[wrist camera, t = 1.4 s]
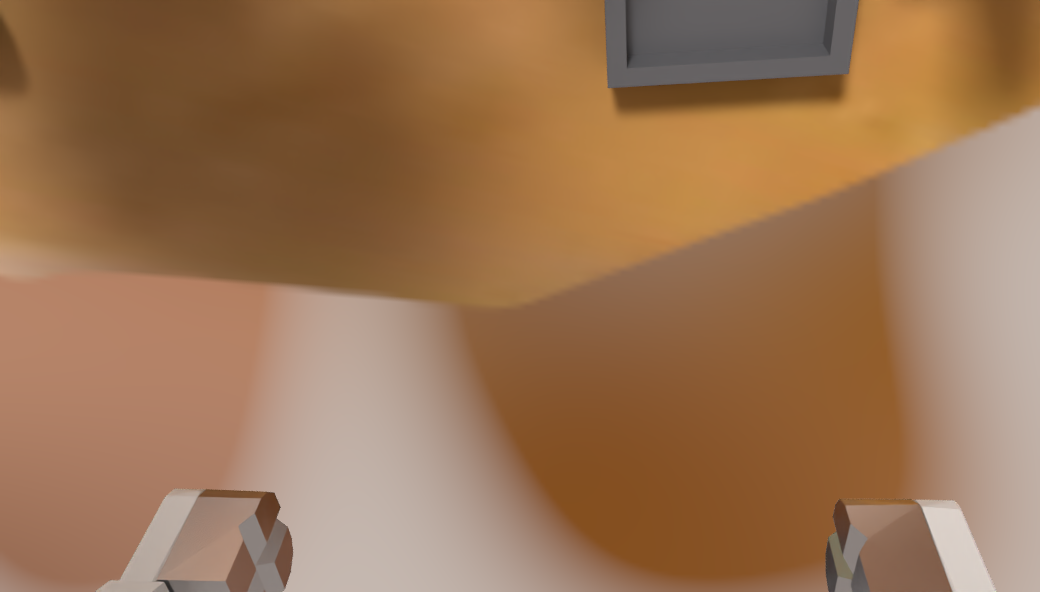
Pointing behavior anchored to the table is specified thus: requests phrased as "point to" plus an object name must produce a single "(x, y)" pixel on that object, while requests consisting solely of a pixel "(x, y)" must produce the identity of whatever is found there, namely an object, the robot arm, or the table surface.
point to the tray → (726, 40)
